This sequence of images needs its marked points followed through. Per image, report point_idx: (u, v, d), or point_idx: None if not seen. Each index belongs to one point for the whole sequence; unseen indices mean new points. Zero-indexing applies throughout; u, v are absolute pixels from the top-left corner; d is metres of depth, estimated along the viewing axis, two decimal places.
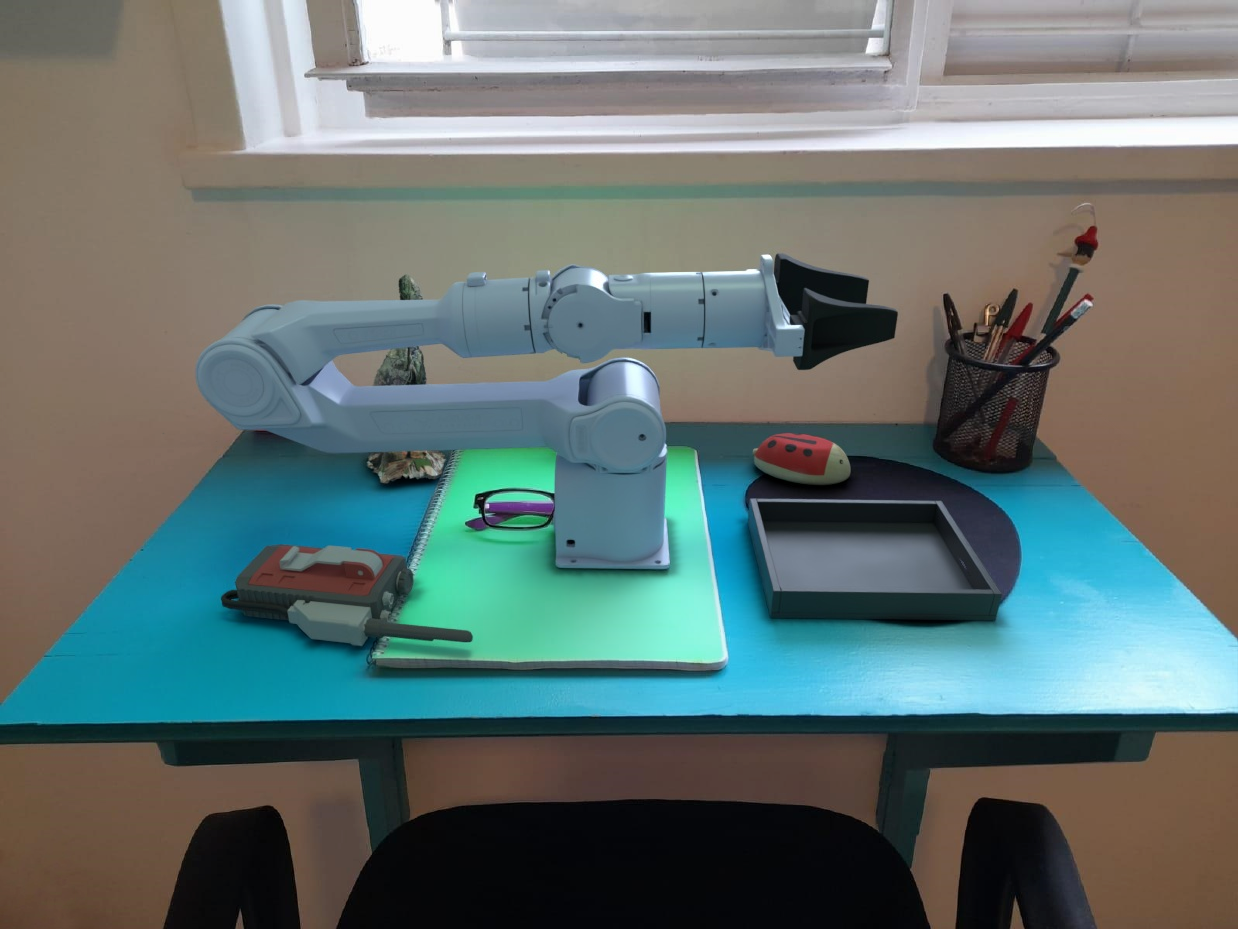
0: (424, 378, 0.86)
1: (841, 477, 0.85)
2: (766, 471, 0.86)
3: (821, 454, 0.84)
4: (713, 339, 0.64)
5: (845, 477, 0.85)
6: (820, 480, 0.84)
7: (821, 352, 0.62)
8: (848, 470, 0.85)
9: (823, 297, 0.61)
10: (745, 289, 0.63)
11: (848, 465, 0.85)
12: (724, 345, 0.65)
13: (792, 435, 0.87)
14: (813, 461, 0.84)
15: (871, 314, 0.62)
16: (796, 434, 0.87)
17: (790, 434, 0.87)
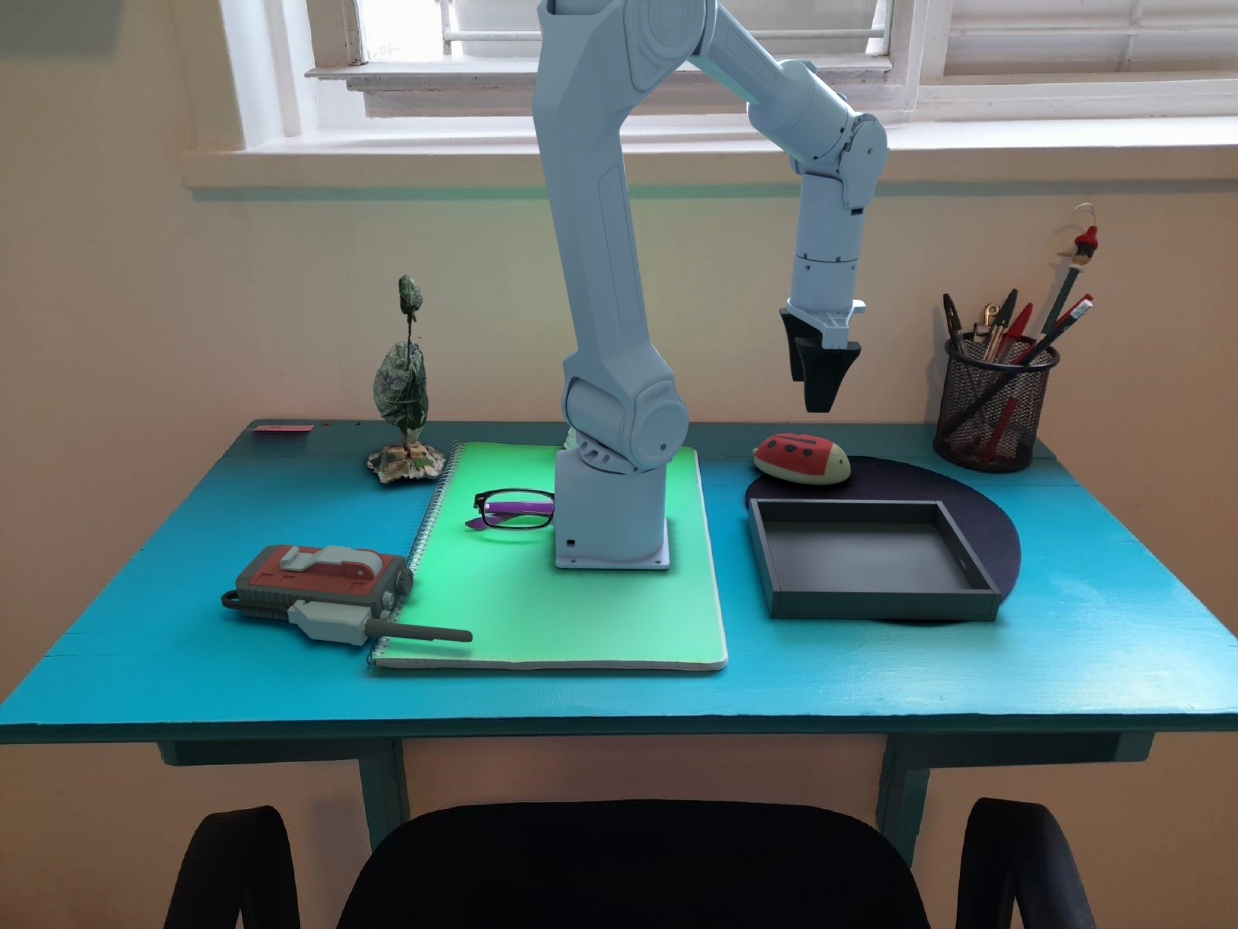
0: (424, 378, 0.86)
1: (841, 477, 0.85)
2: (766, 471, 0.86)
3: (821, 454, 0.84)
4: (814, 269, 0.76)
5: (845, 477, 0.85)
6: (820, 480, 0.84)
7: (813, 361, 0.76)
8: (848, 470, 0.85)
9: None
10: (850, 293, 0.77)
11: (848, 465, 0.85)
12: (804, 277, 0.77)
13: (792, 435, 0.87)
14: (813, 461, 0.84)
15: (831, 394, 0.79)
16: (796, 434, 0.87)
17: (790, 434, 0.87)
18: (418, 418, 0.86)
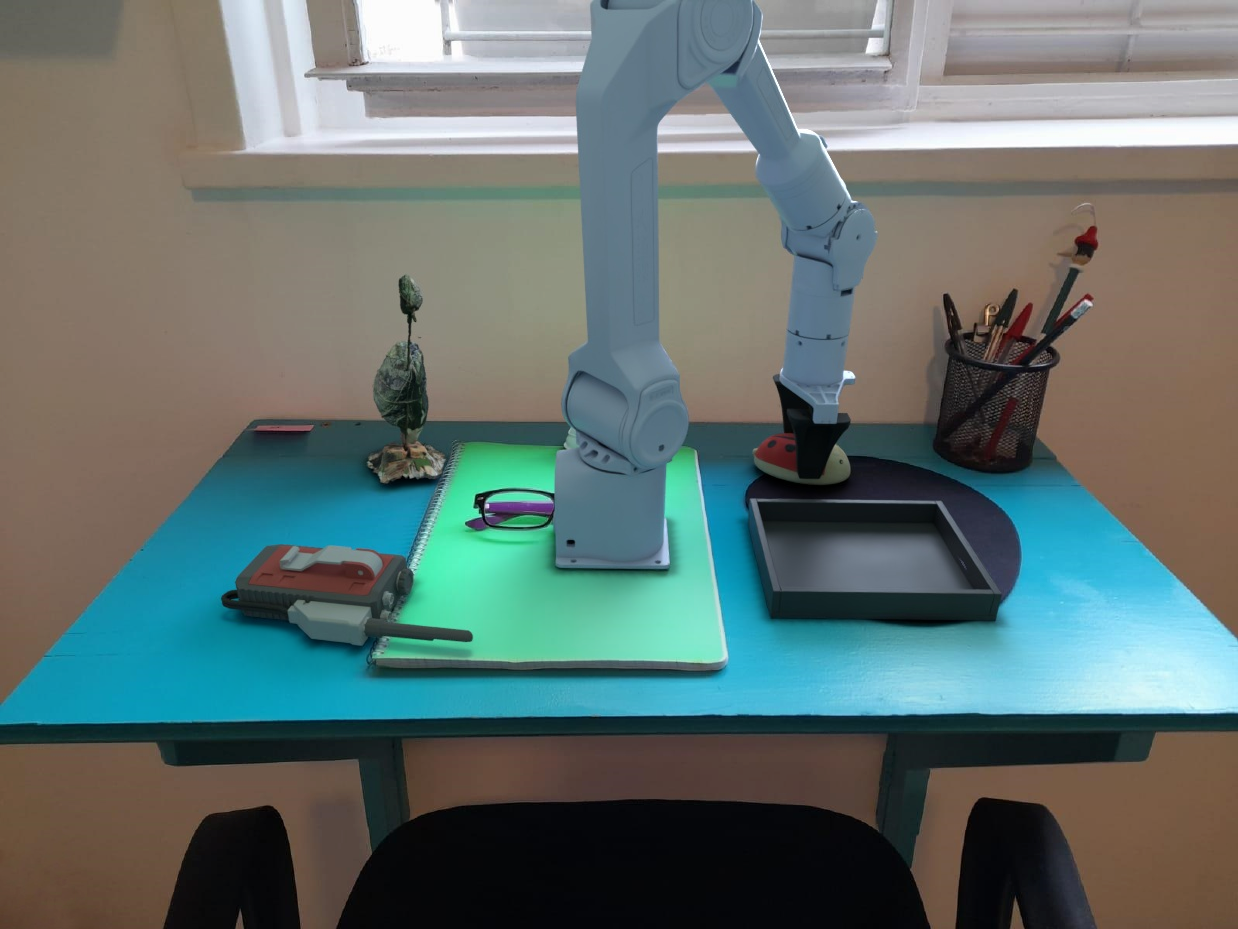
0: (424, 378, 0.86)
1: (841, 477, 0.85)
2: (766, 471, 0.86)
3: None
4: (806, 345, 0.79)
5: (845, 477, 0.85)
6: (820, 480, 0.84)
7: (804, 432, 0.80)
8: (848, 470, 0.85)
9: None
10: (841, 367, 0.81)
11: (848, 465, 0.85)
12: (796, 353, 0.80)
13: (792, 435, 0.87)
14: None
15: (822, 461, 0.82)
16: None
17: (790, 434, 0.87)
18: (418, 418, 0.86)
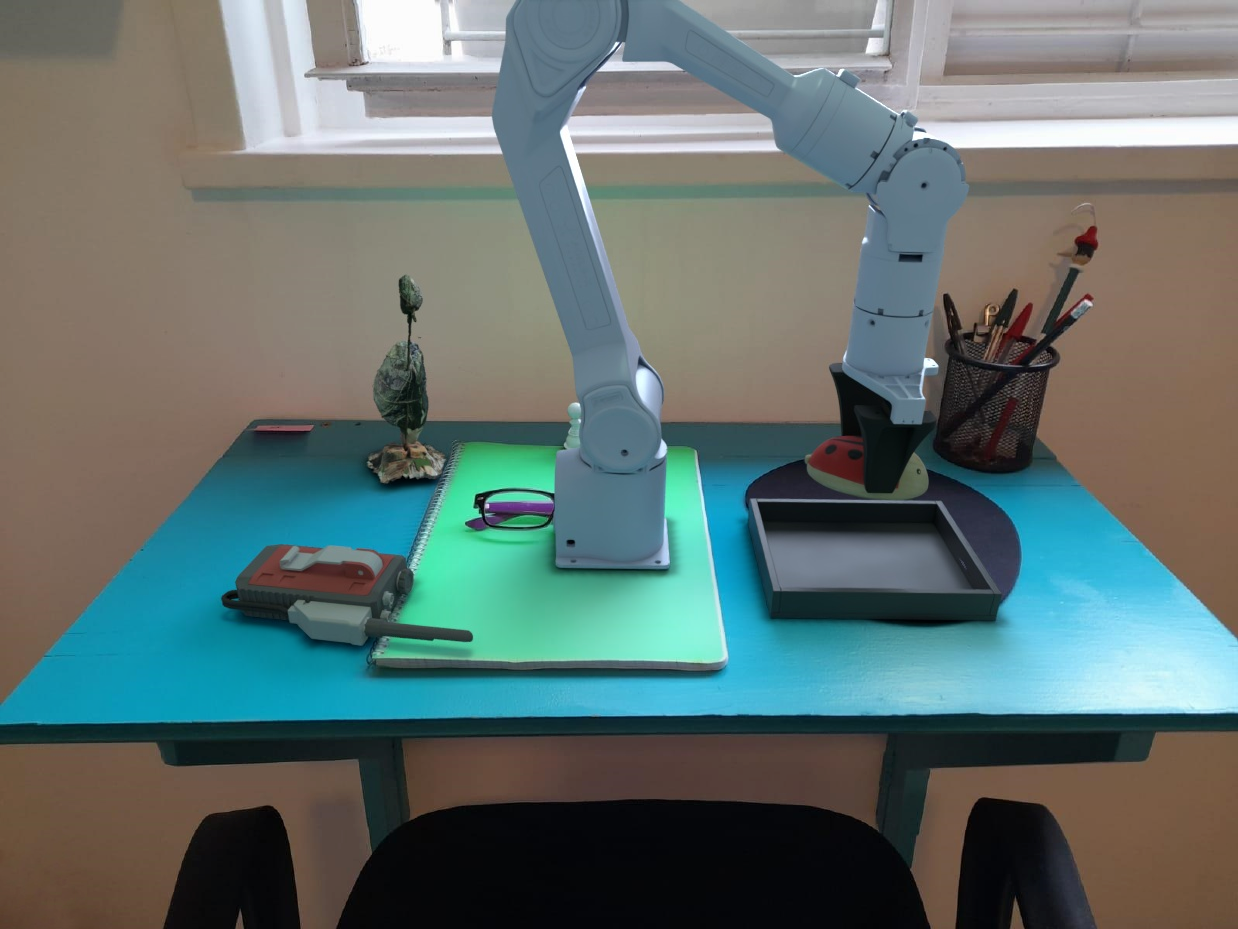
0: (424, 378, 0.86)
1: (919, 491, 0.68)
2: (824, 483, 0.69)
3: None
4: (880, 325, 0.62)
5: (923, 491, 0.68)
6: (893, 495, 0.67)
7: (877, 435, 0.63)
8: (926, 482, 0.69)
9: None
10: (922, 352, 0.64)
11: (926, 476, 0.69)
12: (867, 334, 0.63)
13: (855, 438, 0.71)
14: None
15: (896, 472, 0.66)
16: (860, 437, 0.71)
17: (852, 437, 0.71)
18: (418, 418, 0.86)
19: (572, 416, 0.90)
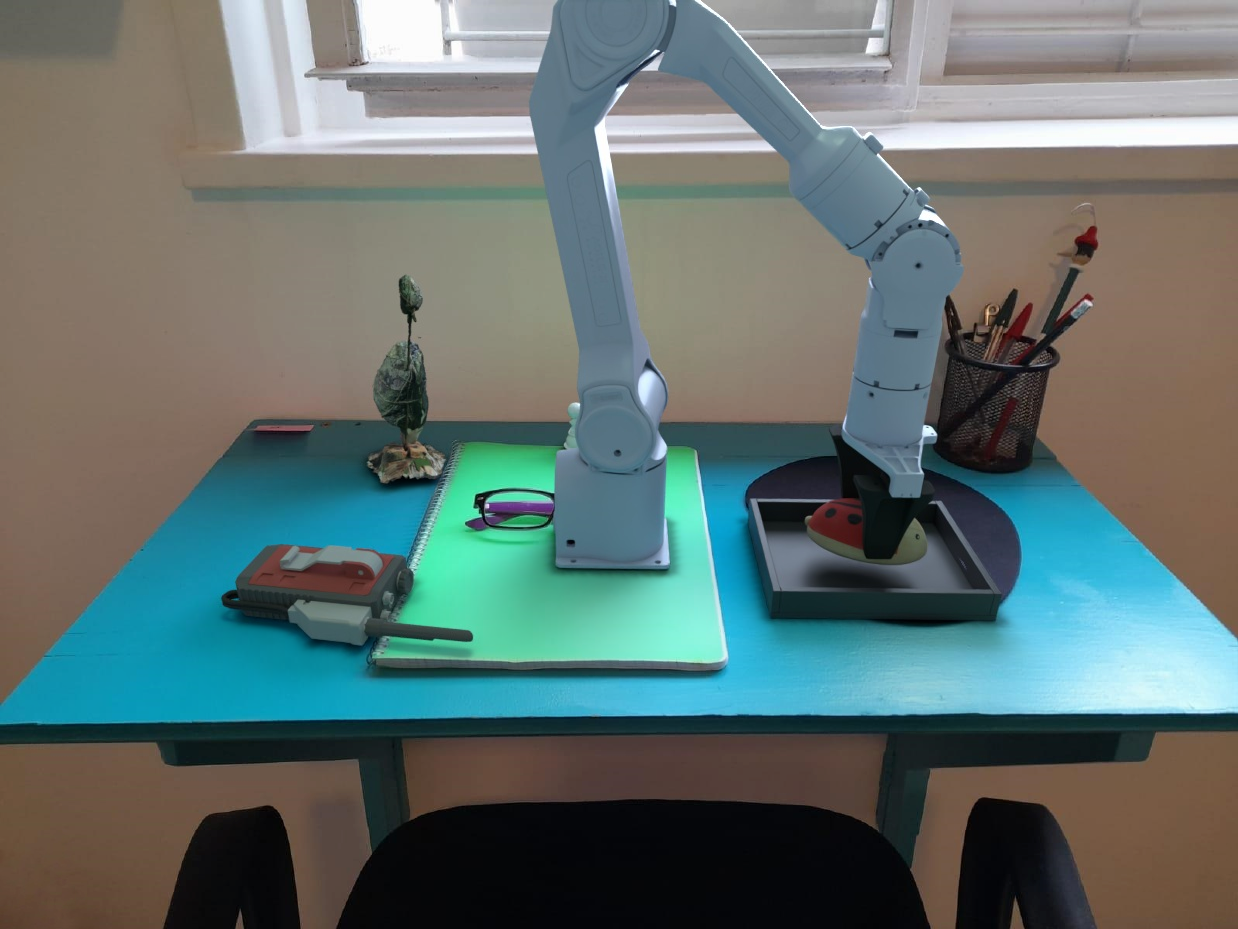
0: (424, 378, 0.86)
1: (918, 556, 0.69)
2: (823, 546, 0.70)
3: None
4: (879, 397, 0.63)
5: (922, 555, 0.69)
6: (891, 560, 0.68)
7: (876, 506, 0.64)
8: (925, 546, 0.69)
9: None
10: (921, 423, 0.65)
11: (925, 540, 0.69)
12: (866, 406, 0.64)
13: (855, 501, 0.71)
14: None
15: (895, 539, 0.66)
16: (859, 500, 0.71)
17: (852, 500, 0.71)
18: (418, 418, 0.86)
19: (572, 416, 0.90)
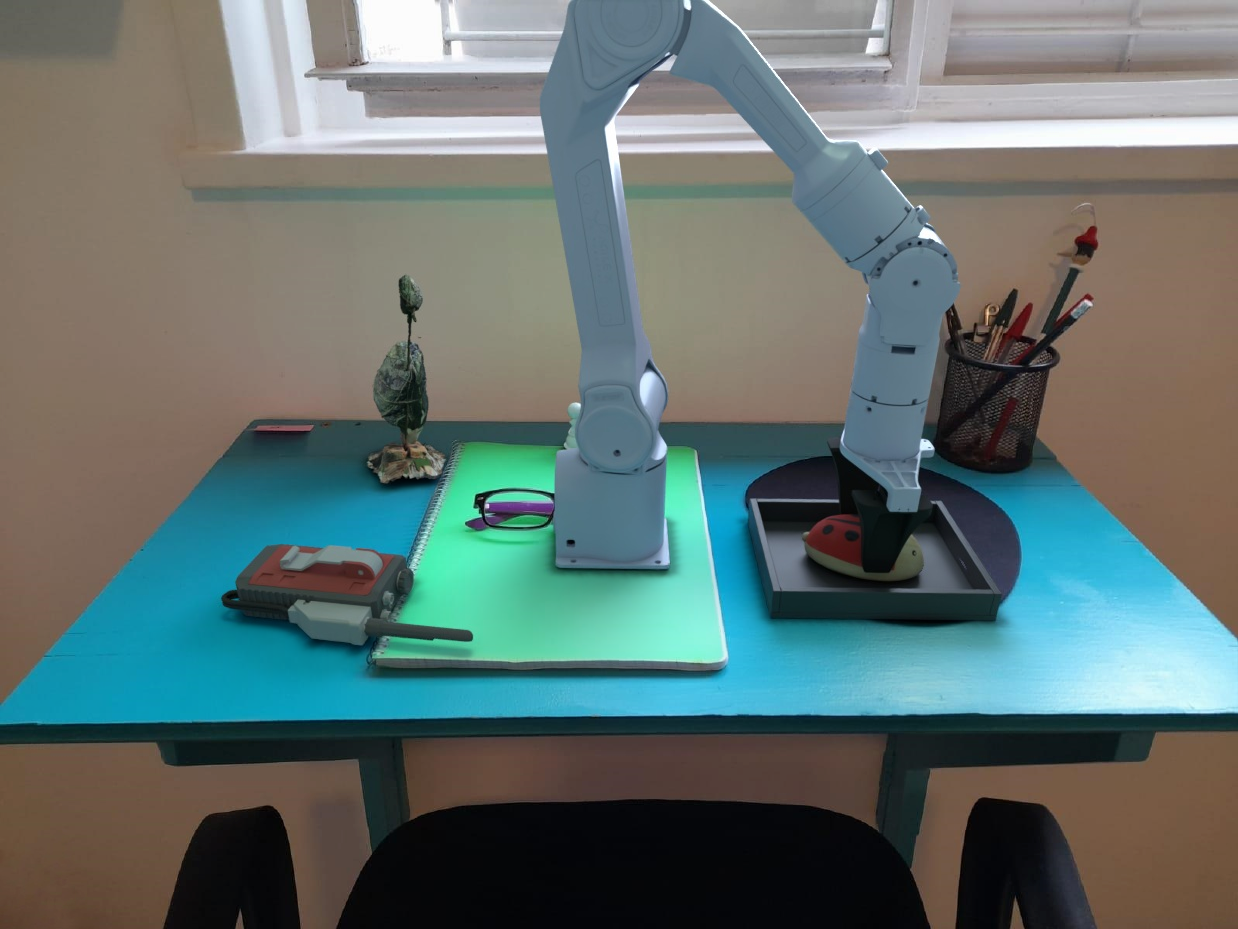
0: (424, 378, 0.86)
1: (914, 572, 0.69)
2: (821, 563, 0.71)
3: None
4: (877, 412, 0.64)
5: (918, 571, 0.70)
6: (889, 576, 0.69)
7: (874, 520, 0.64)
8: (922, 562, 0.70)
9: None
10: (918, 437, 0.65)
11: (922, 556, 0.70)
12: (864, 420, 0.64)
13: (852, 517, 0.72)
14: None
15: (893, 553, 0.67)
16: (856, 516, 0.72)
17: (849, 516, 0.72)
18: (418, 418, 0.86)
19: (572, 416, 0.90)
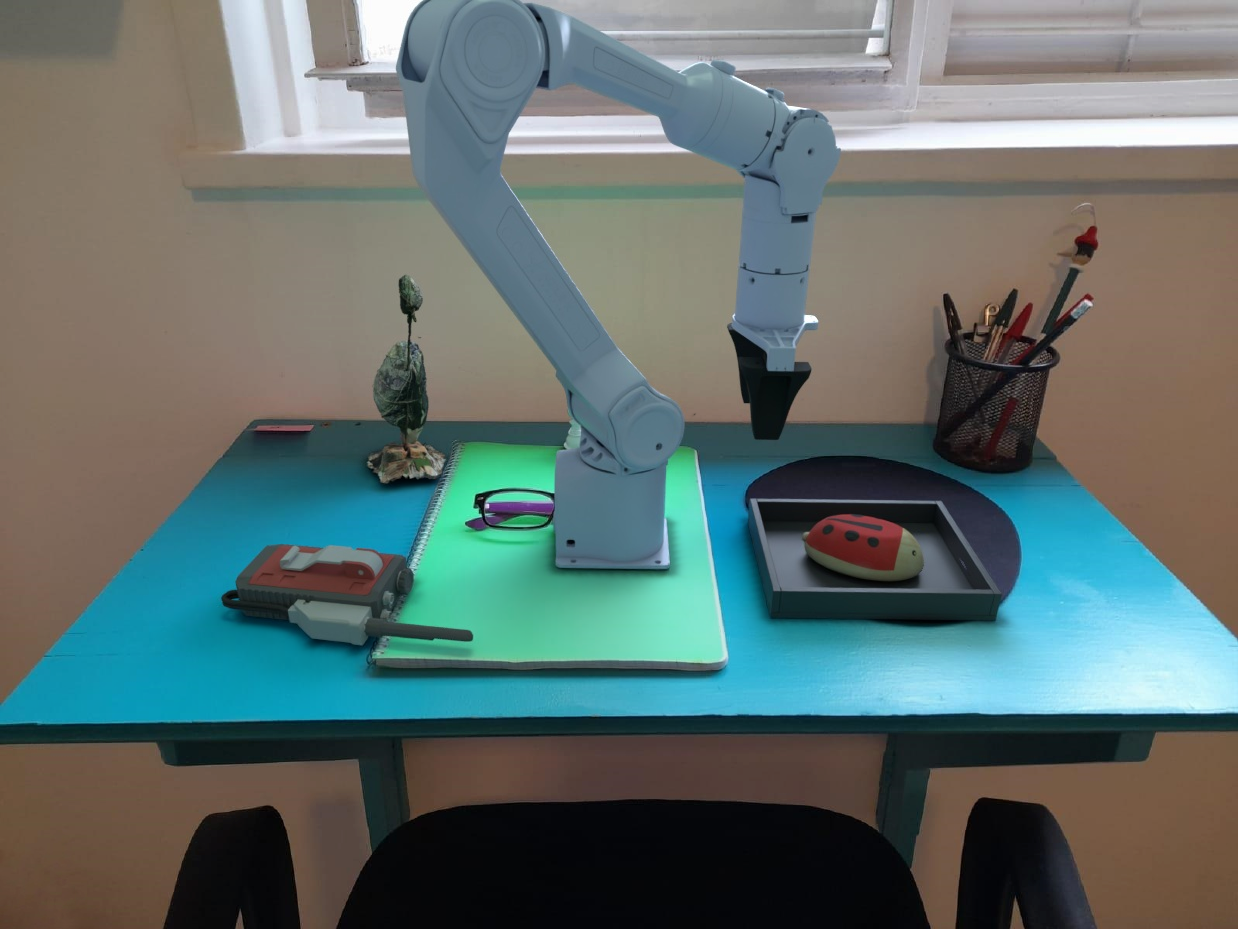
0: (424, 378, 0.86)
1: (914, 572, 0.69)
2: (821, 563, 0.71)
3: (890, 544, 0.69)
4: (759, 282, 0.68)
5: (918, 571, 0.70)
6: (889, 576, 0.69)
7: (757, 384, 0.69)
8: (922, 562, 0.70)
9: None
10: (800, 308, 0.70)
11: (922, 556, 0.70)
12: (748, 291, 0.69)
13: (852, 517, 0.72)
14: (880, 553, 0.69)
15: (780, 419, 0.72)
16: (856, 516, 0.72)
17: (849, 516, 0.72)
18: (418, 418, 0.86)
19: None
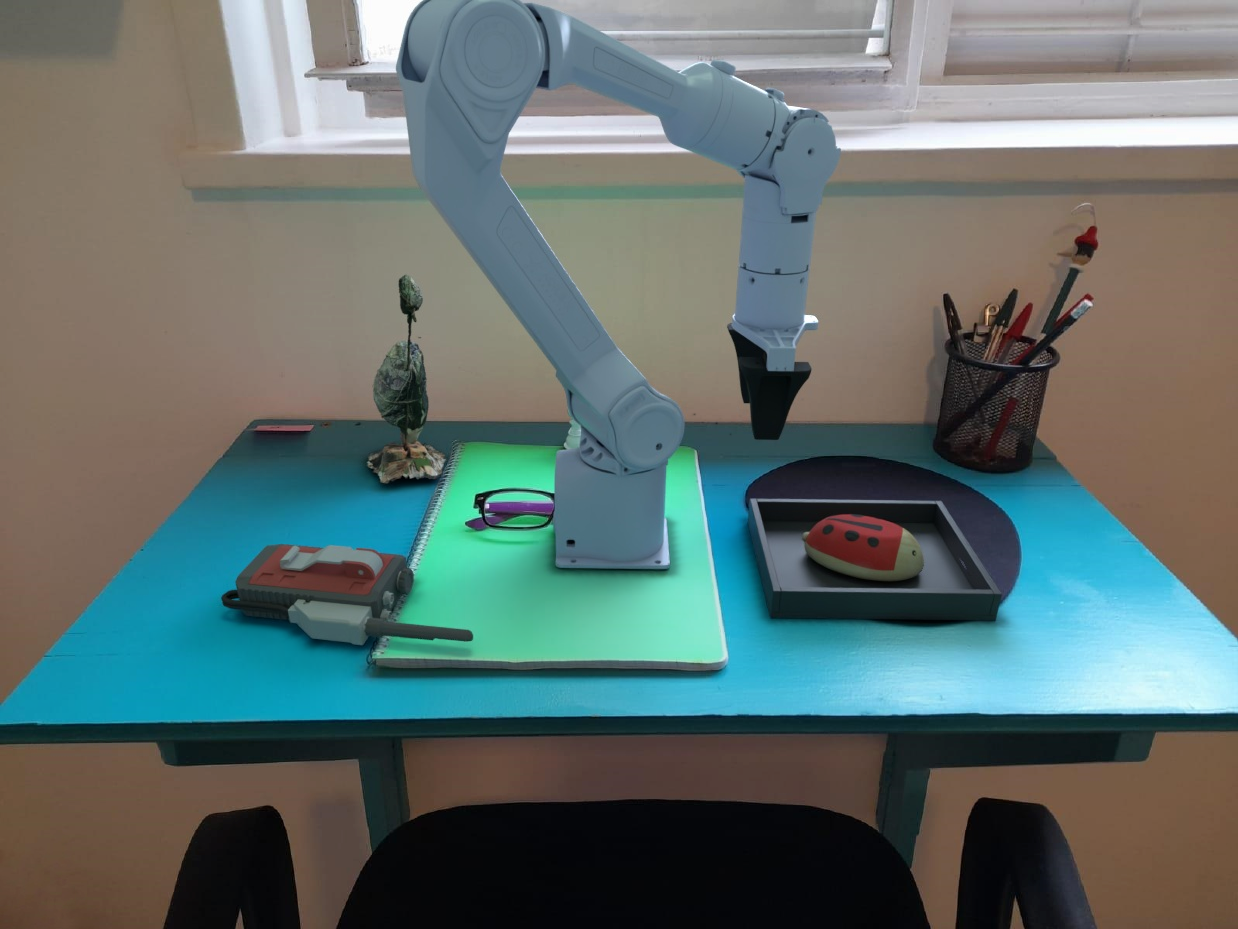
0: (424, 378, 0.86)
1: (914, 572, 0.69)
2: (821, 563, 0.71)
3: (890, 544, 0.69)
4: (759, 282, 0.68)
5: (918, 571, 0.70)
6: (889, 576, 0.69)
7: (757, 384, 0.69)
8: (922, 562, 0.70)
9: None
10: (800, 308, 0.70)
11: (922, 556, 0.70)
12: (748, 291, 0.69)
13: (852, 517, 0.72)
14: (880, 553, 0.69)
15: (780, 419, 0.72)
16: (856, 516, 0.72)
17: (849, 516, 0.72)
18: (418, 418, 0.86)
19: None
